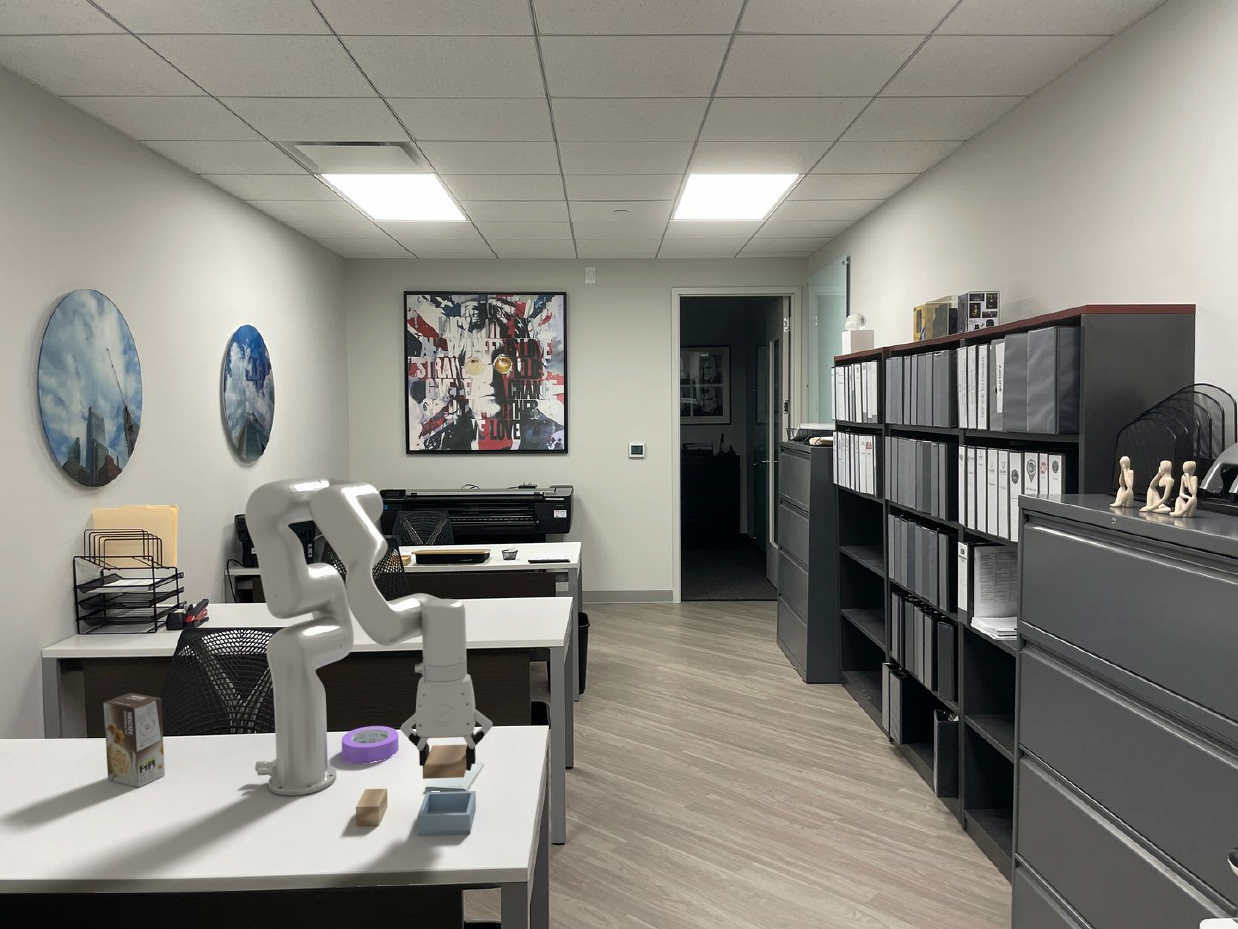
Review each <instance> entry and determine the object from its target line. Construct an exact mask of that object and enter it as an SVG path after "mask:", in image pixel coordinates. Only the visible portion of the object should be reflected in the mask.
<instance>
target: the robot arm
mask: <svg viewBox="0 0 1238 929" xmlns="http://www.w3.org/2000/svg"><path fill="white" fill-rule="evenodd" d="M383 511H384V502H383V498H382V496H381V494H380V493H379V491H378V490H377V489H376V488H375V487H374V486H373V485H372V484H369V483H367V482H364V481H359V480H354V479H353V480H352V479H346V478H345V479H344V478H339V477H332V476H312V477H303V478H302V477H301V478H290V479H281V480H275V481H271V482H268V483H265V484H262V485H261V486H258V487H256V489H254V490H253V491H252V492H251V493H250V495H249V497H248V499H247V502H246V505H245V512H244V515H245V524H246V527H247V529H248V530H247V531H248V534H249V536H250V539H251V540H252V543H253V547H254V550H255V552H256V558H257V563H258V567H259V574H260V579H261V584H262V589H263V595H264V599H265V604H266V607H267V610H268V612H269V614H270V615H271V616H272V617H274V618H275V619H279V620H287V619H292V618H298V617H300V616H304V615H307V614H310V613H311V615H312V619H309V620H305V621H302V622H301V621H300V622H298V623H295V624H291V625H289V626H286V627H283V628H282V629H280V630H278V631H277V632H275V633H274V634H273V635H272V636H271V637H270V639H269V641H268V642H267V646H266V658H267V659H266V660H267V664H268V667H269V670H270V674H271V680H272V689H273V707H274V709H273V710H274V729H275V730H274V732H275V733H274V734H275V757H276V758H274V759H272V761H267V760H260V761H256V762H255V766H254V768H255V769H254V770H255V772H256V773H257V776H268V775H269V779H268V789H269V791H271V793H273V794H277V795H280V796H303V795H309V794H311V793H315V792H316V793H317V792H319V791H322V790H323V789H326V788H327V787H329V786H330V785H332V784H333V783H334V782H335V780H336V779H337V772H336V771H337V770H336V769H335V767H333V766H331V765H329V764H328V762H329V761H328V732H327V731H328V730H327V729H328V728H327V702H326V701H327V700H326V697H327V696H326V689H325V686H324V684H323V683H322V681H321V679H320V678H319V676H318V675H317V673H316V672H317V671H316V670H317V669H319V668H322V667H323V666H327V665H328V664H329V665H330V664H333V663H335V662H338V661H341V660H342V659H344V658H345V657H347V656H348V655H349V654H350V653H351V651H352V649H353V645H354V641H355V637H354V636H355V635H354V627H353V622H352V617H351V614H352V616H353V617H354V619H356V621H357V623H358V625H359V626H360V627H361V628H362V630H363V631H364V633H365V635H367V636H368V638H370V639H371V640H372V641H373V642H375V643H376V644H378V645H380V646H384V647H391V646H395V645H397V644H400V643H404V642H407V641H409V640H411V639H414V638H418V637H421V636H422V638H421V639H422V662H421V663H418V664H414V671H415V673H419V674H421V675H422V677H421V678H419V680H418V685H417V690H416V691H417V692H416V701H415V702H416V703H415V704H416V705H415V706H416V707H415V713H414V714H413V715H412V716H410V717H409V718H408V719H407V720H406V721H405V722H403V723H402V724H401V727H399V730H400V731H401V732H402V733H403V734H404V736H406V738H407V739H408V740H409V742H411V743H412V744H413V745H414V746H415V747H416V749H417V751H418V753H419V754H418V755H419V760H418V761H419V764H418V765H419V766H420V767H421V766H422V768H423V767H424V765H425V763H426V761H427V759H428V756H429V754H430V744H429V743H428V740H429V739H442V738H443V739H444V738H445V739H447V738H463V739H464V741H465V742H466V744H467V748H466V763H467V769H466V770H467V771H471V767H472V764H475V762H477V761H476V759H477V758H476V757H477V756H476V746H477V745H478V744H479V743H480V742H481V741H482V740H483V738H484V737H485V736H486V735H487V734H488V732H490V730H491V729H492V728H493V721H492V720H490V719H489V718H488V717H486V715H485V714H483V713H482V712H480V711H479V710H478V709H476V701H475V700H476V699H475V692H474V687H473V681H472V678H471V675H470V674H468V668H467V665H468V664H467V661H468V660H467V632H466V630H467V628H466V608H465V606H464V603H463V602H461V601H460V600H458V599H452V598H439V597H436V596H434V595H431V594H428V593H422V592H421V593H413V594H410V595H409V594H408V595H407V596H406V595H405V596H403V597H399V598H396V599H392V600H388V601H387V600H386V599H385V597H384V595H382V593H381V592H380V590H379V589H378V588H377V585H376V584H375V581H374V578H373V568H374V566H376V565H378V563H379V562H380V561H381V560H382V559H383V558H384V557H385V555H386V553H387V551H388V548H389V547H388V542H387V541H386V539H385V538H384V536H383V535H382V533H381V532H380V530H379V529H378V528H377V526H376V525H375V523H376V522H377V521H378V520H379V519H380V518H381V516H382V514H383ZM308 521H313V522H314V523H315V525H316V526H317V529H318V530H319V531H320V532H321V534H322V535H323V537H324V538H325V540H326V541H327V542H328V544H329V545H330V547H331V548H332V549H333V551H334V553H336V555H337V557H338V558H339V559H340V561H341V562H342V563H343V565H344V567H345V570H346V578H345V582H344V579H343V578H342V575H341V574H340V572H339V571H338V570H337V569H336V568H335V567H334V566H332V565H331V564H328V563H325V562H315V563H310V564H307V561H306V557H305V553H304V552H305V551H304V546H303V544H302V542H301V540H300V538H299V537H298V535H297V534H296V533H295V532H294V531H293V530H292V529H291V528H290V527H289V525H290V524H294V523H301V522H308ZM476 722H477V723H478V724H479V725H481V727H480V728H479V730H478V731H477V732H474V730H475V726H476ZM414 725H415V730H414V729H413V726H414Z"/></svg>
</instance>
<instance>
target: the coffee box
mask: <svg viewBox="0 0 1238 929" xmlns="http://www.w3.org/2000/svg"><path fill="white" fill-rule="evenodd" d="M162 713H163V711H162V698H161V697H157V696H150V695H146V694H145V695H144V694H138V693H134V692H129V693H125V694H122V695H120V696H117V697H114V698H112V699H110V700H107V701H104V702H103V715H104V717H103V718H104V732H105V734H104V735H105V750H106V752H105V753H106V767H107V780H108V781H109V782H114V783H119V784H123V785H128V786H131V787H136V788H140V787H143V786H146V785H148V784H150V783H152V782H154V781H156V780H158V779H161V778H163V777H164V776H165V775H166V774H165V770H166V769H165V752H164V751H165V750H164V749H165V748H164V734H163V732H164V730H163V714H162Z"/></svg>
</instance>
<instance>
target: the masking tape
mask: <svg viewBox="0 0 1238 929" xmlns="http://www.w3.org/2000/svg"><path fill="white" fill-rule="evenodd" d="M397 751H398V752H399V731H397V729H395V728H393V727H389V726H385V725H384V726H382V725H371V726H364V727H358V728H355V729H353V730H350V731H348V732H346V733H345V734H344V735H343V736H342V737H341V758H342V759H343V760H344V761H346V762H348V763H351V764H357V765H358V764H359V765H363V764H362V763H369V764H371V763H370V762H374V761H379V760H384V759H387V758H389V757H390V756H392V755H393V754H396V752H397ZM398 752H397V753H398ZM396 755H397V754H396ZM389 759H390V758H389ZM387 760H388V759H387ZM384 761H385V760H384Z"/></svg>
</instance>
